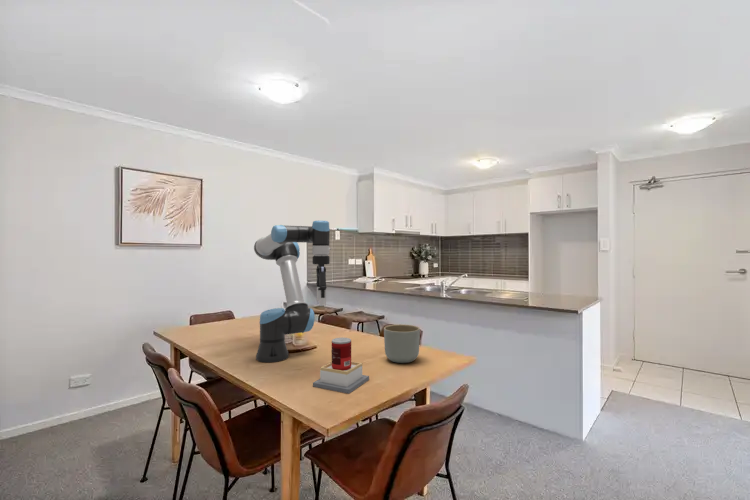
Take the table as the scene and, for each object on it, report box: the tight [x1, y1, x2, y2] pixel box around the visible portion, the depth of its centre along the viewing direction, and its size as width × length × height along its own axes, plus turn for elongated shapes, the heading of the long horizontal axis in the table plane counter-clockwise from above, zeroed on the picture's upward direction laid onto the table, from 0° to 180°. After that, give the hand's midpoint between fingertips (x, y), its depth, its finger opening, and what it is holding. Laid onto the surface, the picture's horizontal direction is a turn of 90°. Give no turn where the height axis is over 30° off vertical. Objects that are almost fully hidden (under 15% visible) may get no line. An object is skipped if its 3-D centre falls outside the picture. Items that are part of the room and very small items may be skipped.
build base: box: [312, 360, 370, 394], centre depth 143 cm, size 16×16×7 cm
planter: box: [383, 323, 421, 364], centre depth 173 cm, size 17×17×15 cm
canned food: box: [331, 337, 352, 371], centre depth 143 cm, size 8×8×11 cm
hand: (321, 303), depth 162 cm, fingers open, 13 cm apart
